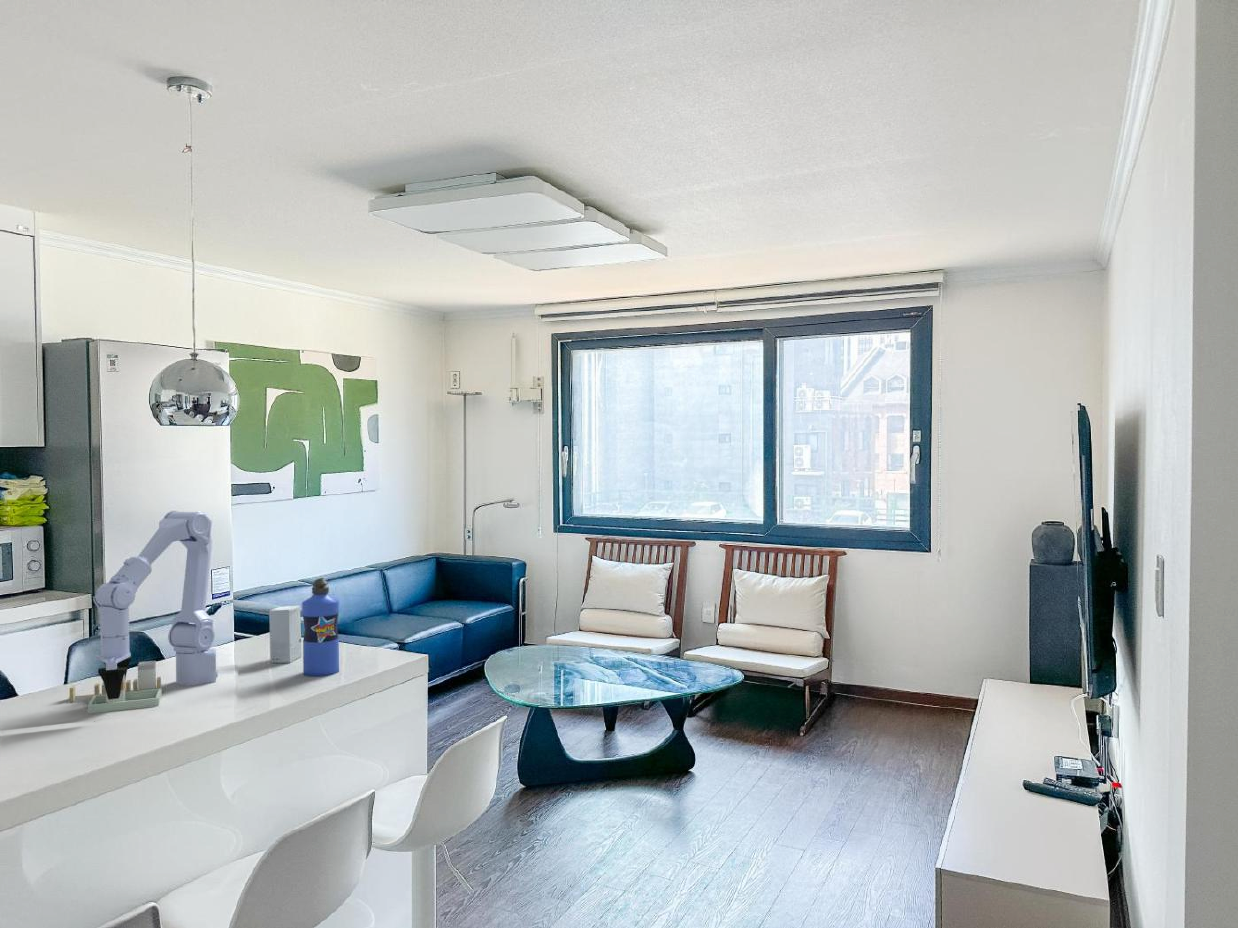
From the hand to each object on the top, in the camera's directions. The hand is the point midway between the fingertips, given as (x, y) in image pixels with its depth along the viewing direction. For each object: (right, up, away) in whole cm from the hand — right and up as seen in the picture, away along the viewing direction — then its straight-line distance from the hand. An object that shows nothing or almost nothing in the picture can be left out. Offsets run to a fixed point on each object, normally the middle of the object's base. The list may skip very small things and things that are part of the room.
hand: (115, 694), depth 201 cm
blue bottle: (+36, -3, +33) cm, 49 cm away
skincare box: (+21, -3, +47) cm, 51 cm away
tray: (+2, -4, +1) cm, 4 cm away
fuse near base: (+1, -2, +11) cm, 11 cm away
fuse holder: (-5, -3, +8) cm, 10 cm away
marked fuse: (0, -3, 0) cm, 3 cm away
